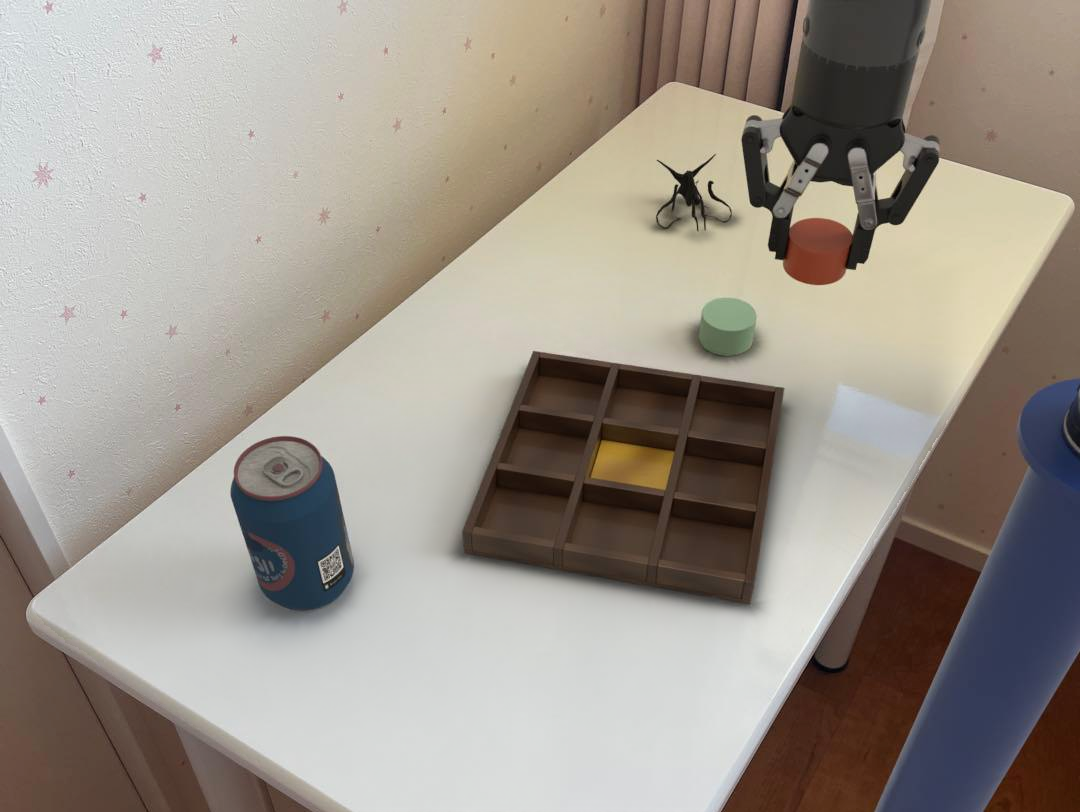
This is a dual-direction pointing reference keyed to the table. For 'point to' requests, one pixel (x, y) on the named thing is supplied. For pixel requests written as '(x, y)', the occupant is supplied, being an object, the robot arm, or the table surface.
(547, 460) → the grid
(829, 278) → the cylinder
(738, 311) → the sage token
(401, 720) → the table surface
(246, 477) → the soda can
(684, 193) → the creature
